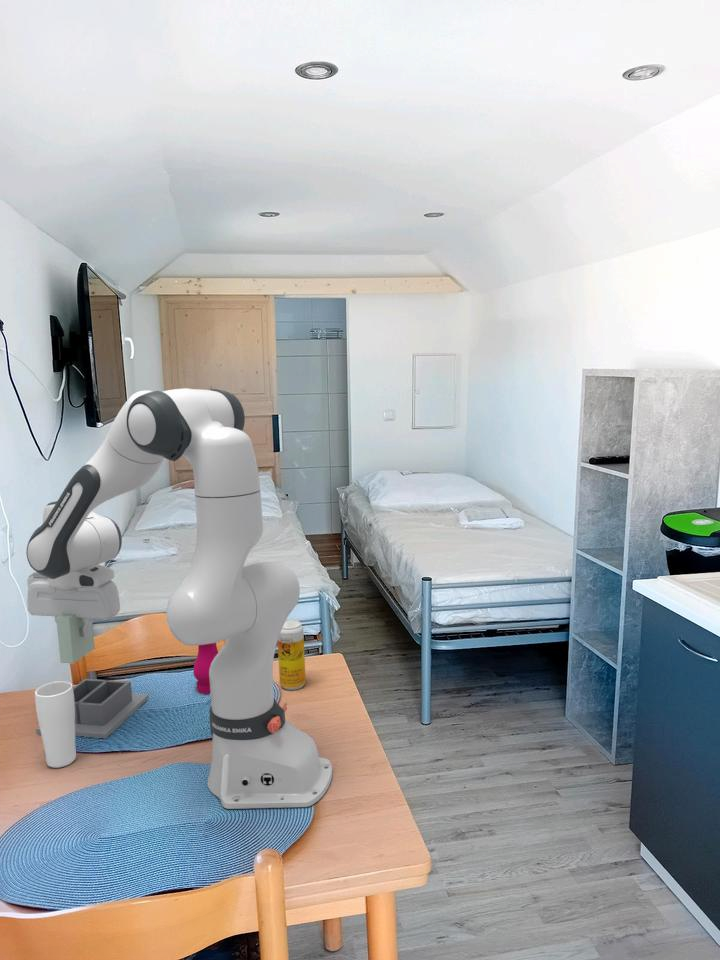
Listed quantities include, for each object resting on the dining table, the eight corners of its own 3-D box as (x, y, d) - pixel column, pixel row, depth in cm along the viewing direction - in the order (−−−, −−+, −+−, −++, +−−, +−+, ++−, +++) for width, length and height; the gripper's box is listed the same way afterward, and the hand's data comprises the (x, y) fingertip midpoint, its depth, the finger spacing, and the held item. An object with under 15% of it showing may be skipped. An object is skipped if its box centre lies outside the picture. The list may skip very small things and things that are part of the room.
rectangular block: (94, 648, 157) (90, 605, 155) (73, 663, 149) (68, 618, 147) (82, 647, 157) (78, 604, 156) (60, 662, 149) (56, 617, 148)
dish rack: (149, 698, 162) (147, 675, 161) (105, 739, 144) (103, 713, 143) (86, 694, 165) (83, 672, 164) (36, 733, 147) (33, 708, 147)
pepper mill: (232, 685, 167) (227, 604, 164) (210, 697, 161) (204, 613, 158) (210, 679, 171) (204, 599, 168) (188, 690, 165) (181, 608, 162)
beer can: (276, 690, 163) (273, 628, 161) (284, 679, 169) (280, 619, 167) (302, 691, 162) (299, 629, 160) (308, 680, 168) (305, 620, 166)
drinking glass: (66, 772, 132) (58, 697, 130) (34, 769, 134) (26, 695, 131) (87, 753, 139) (80, 681, 136) (56, 750, 140) (49, 679, 138)
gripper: (17, 576, 149) (23, 638, 151) (104, 579, 145) (110, 643, 147) (36, 567, 155) (42, 627, 157) (121, 570, 151) (126, 632, 153)
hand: (76, 635), depth 152 cm, fingers closed on rectangular block, 3 cm apart
